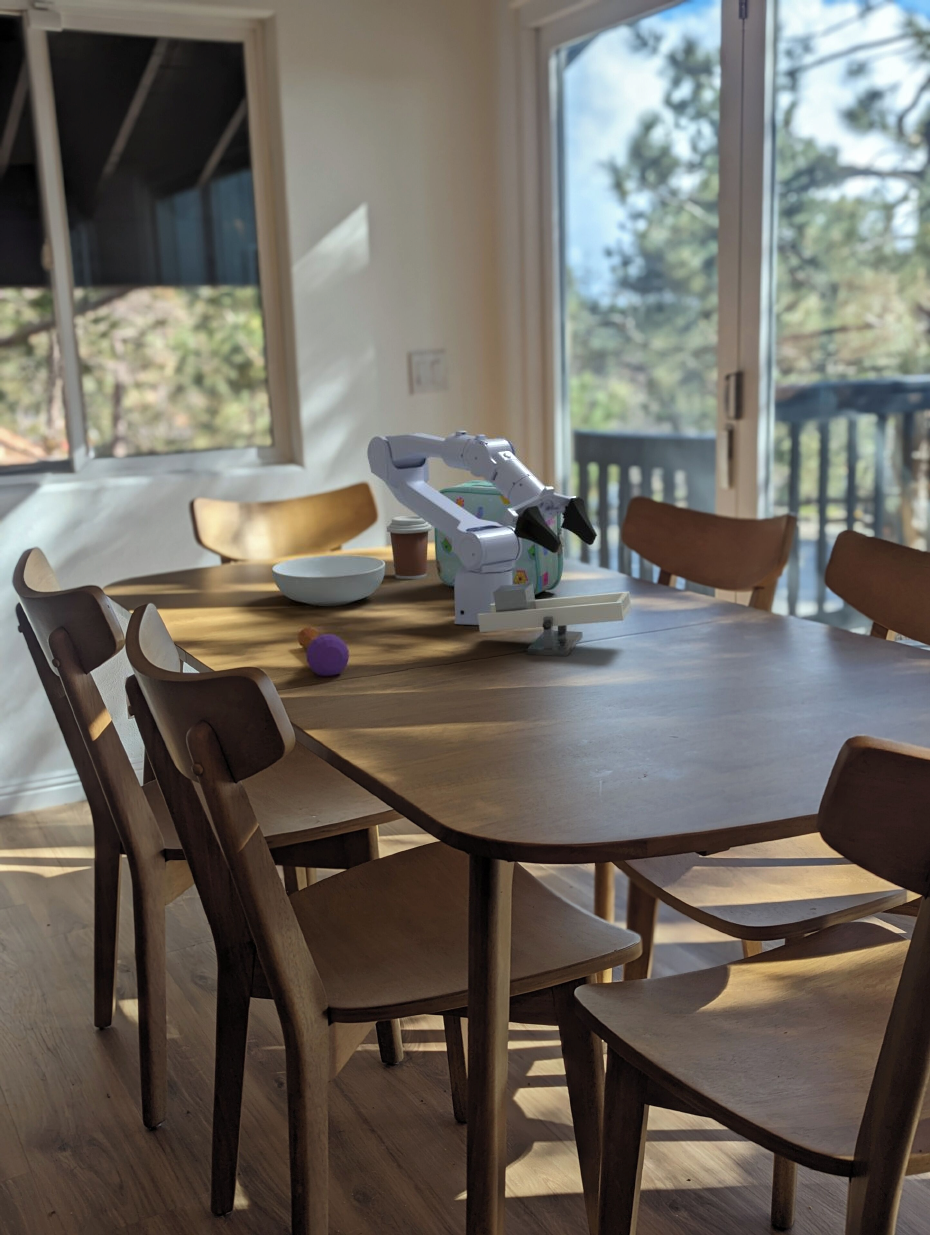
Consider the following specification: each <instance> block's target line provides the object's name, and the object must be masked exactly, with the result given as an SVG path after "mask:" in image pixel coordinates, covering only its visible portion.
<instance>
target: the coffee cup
mask: <svg viewBox="0 0 930 1235" xmlns="http://www.w3.org/2000/svg"><path fill="white" fill-rule="evenodd" d="M429 531H432V525H431V524H429V523H428V522H427V521H425V520H424V519H422V518H421V517H419V516H418V515H401V516H400V515H399V516H395V517H392V518H391V523H390V524H389V525H388V526H386V532H388V533H390V541H391V543H390V544H391V550H392V560H393V567H394V575H395V579H399V580H419V579H420V580H421V579H424V578H426V577H427V570H428V569H427V564H428V546H429V545H428V543H429Z"/></svg>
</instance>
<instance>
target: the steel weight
mask: <svg viewBox="0 0 930 1235" xmlns="http://www.w3.org/2000/svg"><path fill="white" fill-rule="evenodd" d="M493 594H494V601H495V608H496V612H505V611H517V610H528V609H536V603H535V600H536V598H535V595H534V589H533V583H525V584H515V585H504V586H501V587H499V588H498V589H497V590H495V591H494V592H493Z"/></svg>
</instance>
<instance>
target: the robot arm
mask: <svg viewBox="0 0 930 1235" xmlns="http://www.w3.org/2000/svg"><path fill="white" fill-rule="evenodd" d="M467 433H468V432H467V430H456V431H455V432H454V433H451V434H449V435H448V436H446V438H444V437H440V436H437V435H431V434H427V433H424V432H419V433H416V432H415V433H409V434H398V435H397V434H396V435H395V434H394V435H387V436H380V435H377V436H374V437H371V439H370V441H369V443H368V445H367V446H368V447H367V452H366V455H367V460H368V464H369V468H370V472H371V474H373V475H374V476H376V477H377V478H379V479H380V480H381V481H383V482H384V483H385V485H386V487H387V488H388V489H389V490H390V492H391V494H392V495H393V496H394V498H395V499H396V501H398V503H400V504H401V505H403V506H404V507H405V508H407V509H408V510H410V511H411V512H412V513H413V514H415V515H416V516H419V517H421V518H422V519H424V520H425V521H426V522H428V524H429V525H431V527H435V528H436V529H438V530H439V531H441V532H442V533H443V534H445V535H446V536H448V537H449V538H450V539H452V552H454V553H455V554H456V555H457V556H458V557H459V559H460V560H461V562H462V564H463V565H464V566H465V569H459V570H458V571H457V573H456V577H455V585H454V586H453V588H454V589H453V590H454V617H455V618H454V622H453V624H455V625H467V626H468V625H469V626H470V625H471V626H479V622H478V614H482V613H491V607H490V605H491V604H495V601H494V594H493V592H494V591H495V590H497V589H498V588H499V587H501V586H504V585H512V568H513V567H515V562H516V561H517V560H518V559H519V558H520V555H521V553H522V540H521V538H523V539H527V540H530V541H532V542H535V543H537V544H538V545H540V546H542V547H544V548H545V549H547V550H549V551H550V552H552V553H556V552H557V550H558V548H559V546H560V543H561V541H560V540H559V538H558V537H557V535H556V534H555V533H554V532H553V531H552V530H551V528H550V527H549V526H548V525H547V523H546V522H545V521H547V520H549V519H551V518H553V517H555V516H557V515H559V514H561V516H562V518H563V521H562V522H561V529H565V530H567V531H569V532H570V533H572V534H574V535H575V536H576V537H578V538H579V540H581V541H582V542H584V544H586V545H588V546H593V544H594V543H595V541H596V538H597V536H598V534H597V532H596V530H595V528H594V527H593V525H592V522H591V521H590V519H589V517H588V513H587V510H586V506H585V501H584V499H583V498H582V497H581V496H576V495H575V496H569V495H564V494H561V493H557V492H556V491H555V490H556V489H555V488H554V487H553V486H547V487H545V486H546V485H545V484H543V483H542V482H541V480H539V479H538V478H537V476H536V475H534V474H533V473H532V472H531V471H530V470H529V469H528V467H527V466H525V465H524V464H523V463H522V462H521V461H520V460H519V459H518V458H517V454H516V449H515V446H514V444H513V442H511V441H510V440H509V439H507V438H505V437H503V436H499V437H496V438H490V439H489V438H486V435H485V434H476V435H474V436H473V435H469V434H467ZM429 458H437V459H442V461H443V463H444V464H445V466H447V467H450V468H452V469H459V470H464V471H468V472H470V475H472V476H473V477H475V478H482V479H484V481H487V482H488V481H489V482H491V483H492V484H493V485H494V487H495V488H496V489H497V490H498V491H499V492H500V493H501V494H502V495H503V496H504V497H505V498H506V499H507V500H508V501H509V502H510V503H511V504H512V505H513V506H514V507H512V508H509V509H507V510H506V512H505V515H504V517H503V520H504V521H505V522H506V523H507V524H508V525H509V526H502V525H500V524H498V523H497V522H492V521H487V520H481V519H478V518H476V517H475V516H473V515H472V514H470V513H469V512H468V511H466V510H465V509H463V508H462V507H460V506H459V505H457V504H456V503H454V502H453V501H451V500H450V499H448V498H447V497H445V496H444V495H442V494H441V493H439V491H438V490H437V489H435V488H433V487H432V486H431V485H429V484H428V483H427V482H428V481H429V480H430V473H429V472H430V471H429ZM544 485H545V486H544ZM554 492H555V493H554ZM514 525H516V528H513V527H511V526H514Z"/></svg>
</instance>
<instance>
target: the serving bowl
mask: <svg viewBox="0 0 930 1235" xmlns="http://www.w3.org/2000/svg"><path fill="white" fill-rule="evenodd" d="M385 572H386V563H385V561H384V560H382V559H380V558H378V557H374V556H373V557H372V556H368V555H367V556H365V555H355V554H352V555H350V554H336V555H335V554H334V555H330V554H329V555H315V556H314V555H313V556H306V557H299V558H294V559H293V558H292V559H289V560H285V561H282V562H278V563H276V564H275V565H273V566H272V568H271V573H272V577H273V581H274V583H275V585H276V587H277V589H278V590H279V591H280V593H282V594H283V595H284V596H285V597H287V598H289V599H290V600H294V601H295V602H300V603H304V604H308V605H311V606H317V605H318V606H321V607H329V606H330V607H332V606H342V605H343V606H344V605H348V604H351V603H353V602H355V601H358V600H362V599H364V598H366V597H368V596H370V595H372V594H373V593H374V592H375V591H377V589H379V587H380V586H381V584H382V583H383V582H382V581H383V580H384V577H385Z"/></svg>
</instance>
